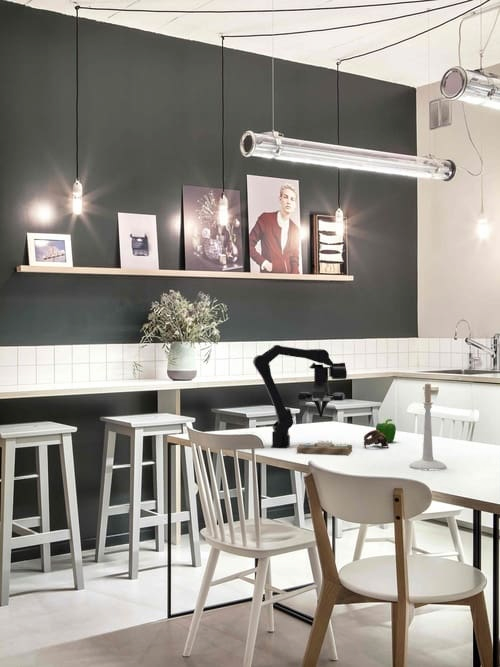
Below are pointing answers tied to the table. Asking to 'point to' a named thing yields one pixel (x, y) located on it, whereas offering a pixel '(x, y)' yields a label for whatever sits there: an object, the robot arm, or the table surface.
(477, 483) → the table surface
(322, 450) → the tile board
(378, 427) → the bell pepper
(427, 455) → the candlestick
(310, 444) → the tile one
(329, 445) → the tile two
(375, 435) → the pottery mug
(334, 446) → the tile three
